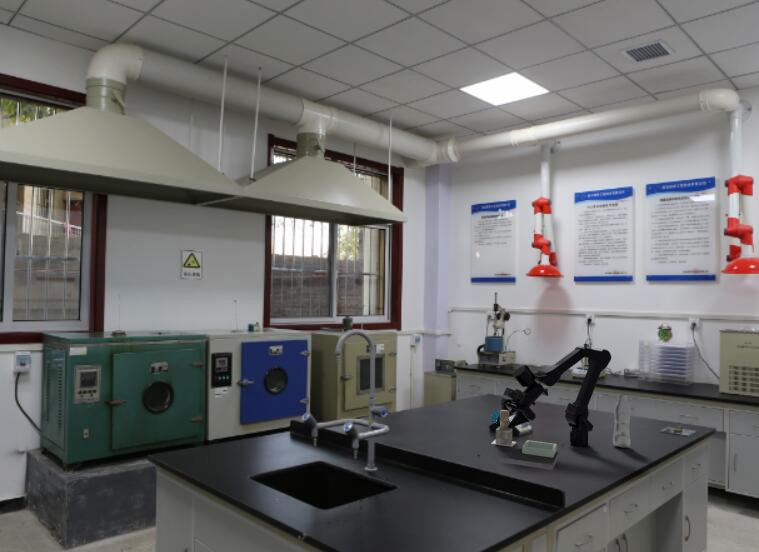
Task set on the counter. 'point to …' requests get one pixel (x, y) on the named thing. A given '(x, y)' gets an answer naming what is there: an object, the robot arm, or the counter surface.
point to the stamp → (504, 429)
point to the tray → (539, 448)
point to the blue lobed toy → (495, 416)
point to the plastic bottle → (622, 422)
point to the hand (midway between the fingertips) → (502, 424)
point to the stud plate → (503, 444)
